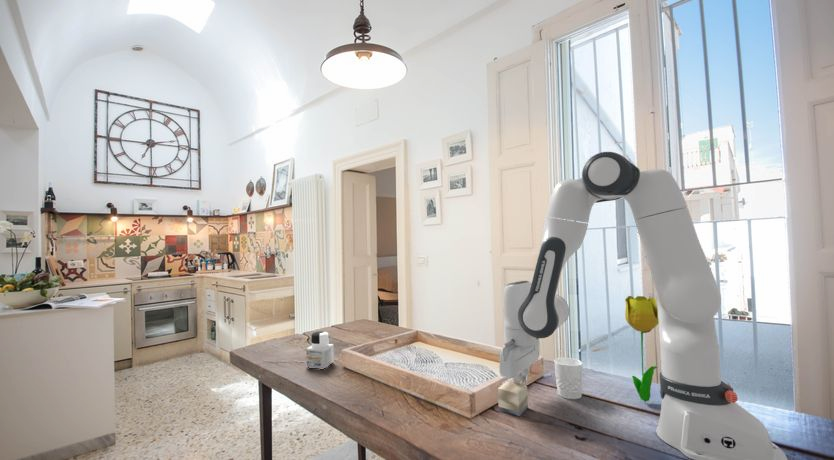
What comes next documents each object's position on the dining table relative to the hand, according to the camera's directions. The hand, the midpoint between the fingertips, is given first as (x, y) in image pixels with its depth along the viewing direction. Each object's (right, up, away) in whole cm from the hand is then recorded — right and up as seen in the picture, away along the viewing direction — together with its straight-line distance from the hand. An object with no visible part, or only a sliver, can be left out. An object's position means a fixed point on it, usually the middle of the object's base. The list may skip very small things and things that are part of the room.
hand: (521, 384), depth 106 cm
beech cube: (-4, -5, -5) cm, 8 cm away
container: (-68, -8, +36) cm, 77 cm away
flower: (+34, -4, -3) cm, 35 cm away
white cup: (+16, -5, +4) cm, 17 cm away
